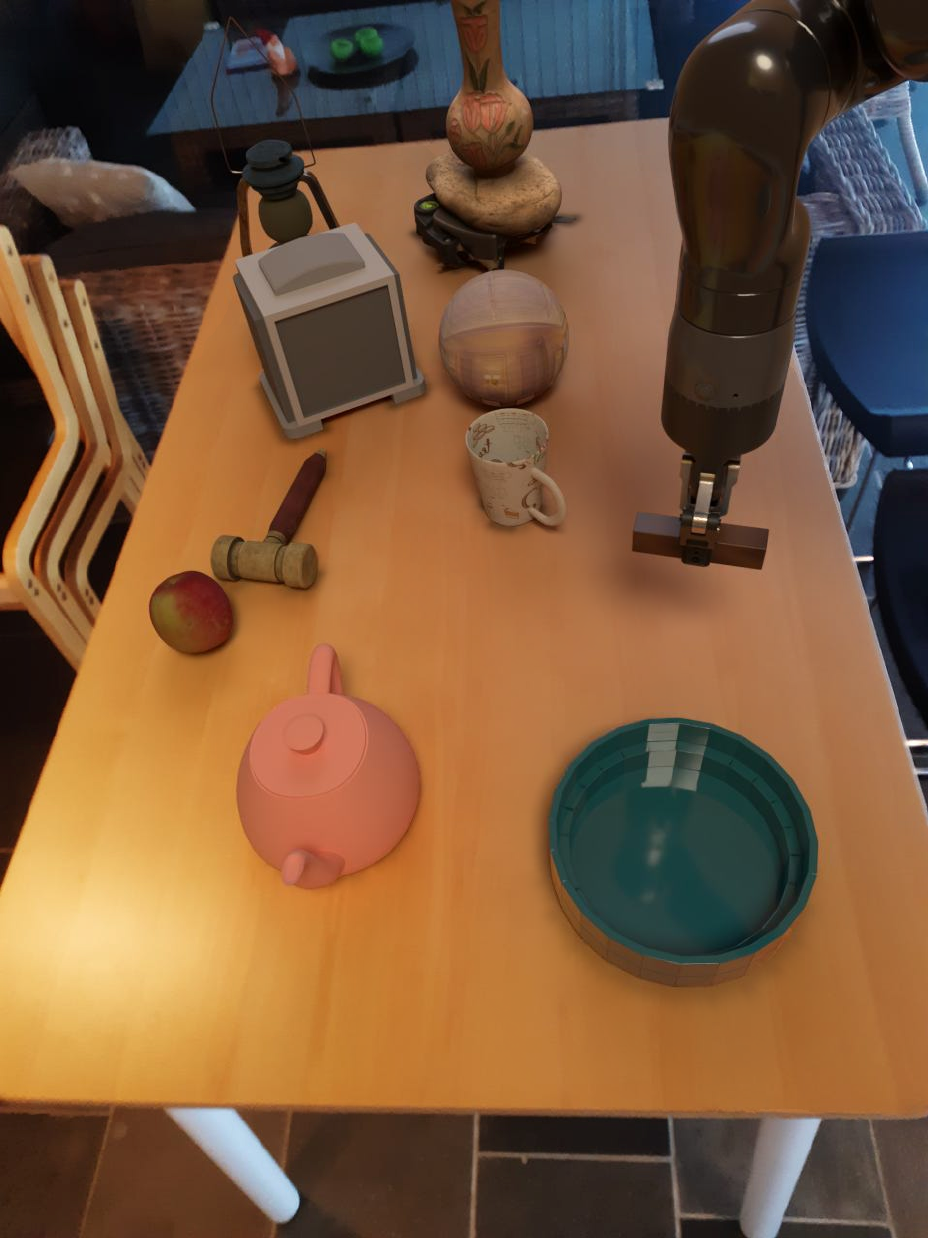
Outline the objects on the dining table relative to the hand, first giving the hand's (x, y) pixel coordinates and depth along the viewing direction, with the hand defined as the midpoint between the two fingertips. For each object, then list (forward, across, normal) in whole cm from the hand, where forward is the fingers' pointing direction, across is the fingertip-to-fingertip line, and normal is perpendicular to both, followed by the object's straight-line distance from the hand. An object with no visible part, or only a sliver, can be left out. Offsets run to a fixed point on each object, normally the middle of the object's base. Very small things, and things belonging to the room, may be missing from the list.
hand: (698, 548), depth 69 cm
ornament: (+15, +35, +26) cm, 46 cm away
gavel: (+15, +9, +43) cm, 47 cm away
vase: (+15, +68, +38) cm, 80 cm away
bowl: (+15, -20, -2) cm, 25 cm away
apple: (+15, -8, +46) cm, 49 cm away
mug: (+15, +15, +18) cm, 28 cm away
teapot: (+15, -22, +26) cm, 37 cm away
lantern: (+15, +50, +59) cm, 79 cm away
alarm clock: (+15, +32, +47) cm, 59 cm away
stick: (0, 0, 0) cm, 0 cm away
